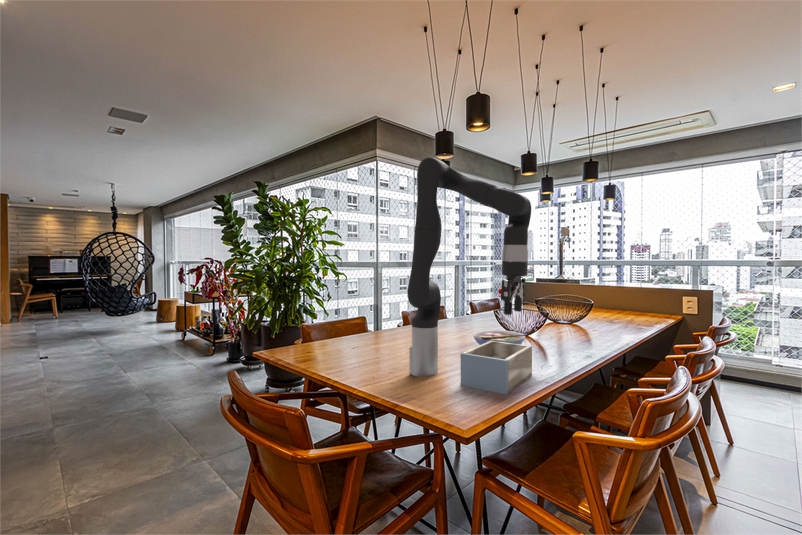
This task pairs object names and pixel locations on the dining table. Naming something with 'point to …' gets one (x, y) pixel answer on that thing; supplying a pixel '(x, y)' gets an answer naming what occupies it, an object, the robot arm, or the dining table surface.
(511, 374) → the crate
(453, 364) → the dining table surface
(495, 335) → the ramen bowl
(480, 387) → the grey panel
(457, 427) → the dining table surface
